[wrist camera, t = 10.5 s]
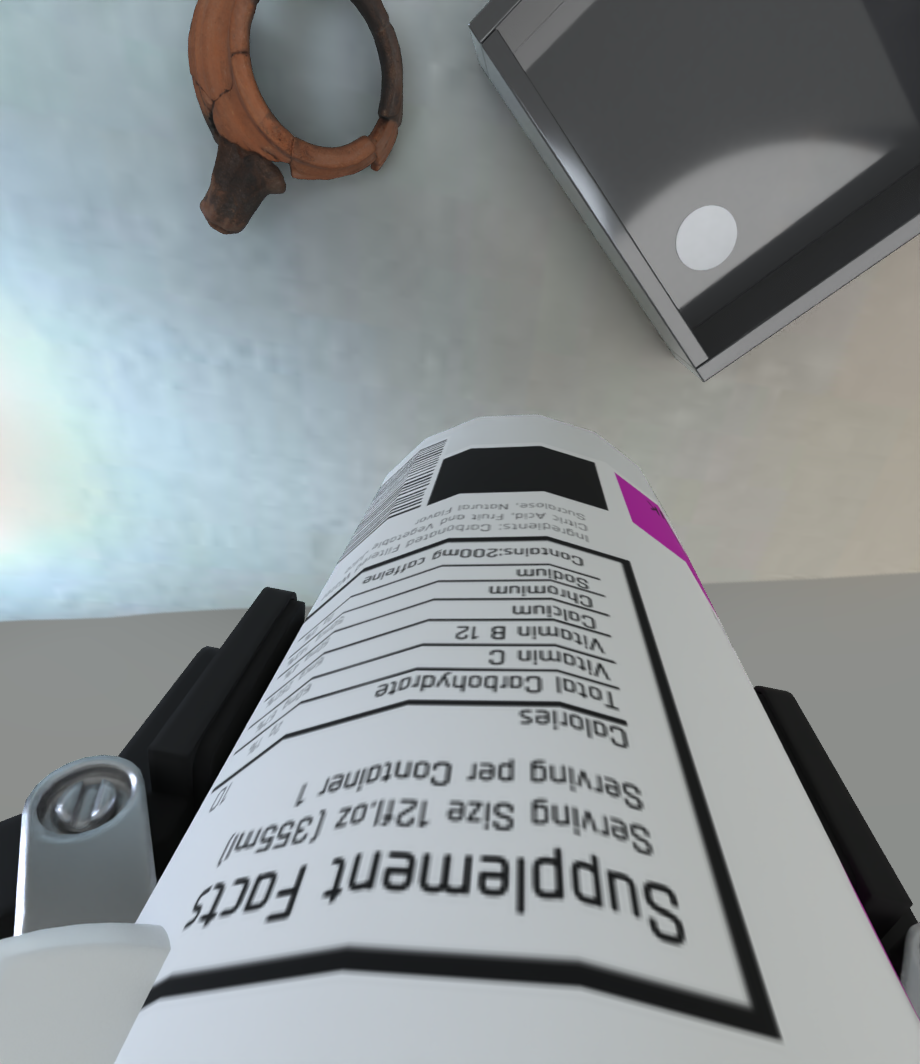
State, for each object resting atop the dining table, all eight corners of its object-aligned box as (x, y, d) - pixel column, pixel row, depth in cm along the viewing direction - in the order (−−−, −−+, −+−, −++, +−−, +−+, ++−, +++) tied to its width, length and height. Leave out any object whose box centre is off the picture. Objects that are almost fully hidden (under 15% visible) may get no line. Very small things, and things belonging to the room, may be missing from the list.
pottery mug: (225, -67, 27) (249, -163, 21) (398, 77, 33) (462, 37, 26) (136, 190, 30) (132, 177, 23) (310, 285, 35) (348, 298, 28)
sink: (440, 6, 28) (395, -111, 18) (811, -415, 21) (1038, -926, 12) (675, 358, 33) (734, 408, 24) (1020, 111, 27) (1282, 47, 18)
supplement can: (727, 493, 16) (1950, 2076, 2) (564, 701, 19) (655, 1770, 6) (447, 347, 15) (-394, 1613, 1) (331, 596, 18) (-193, 1593, 5)
